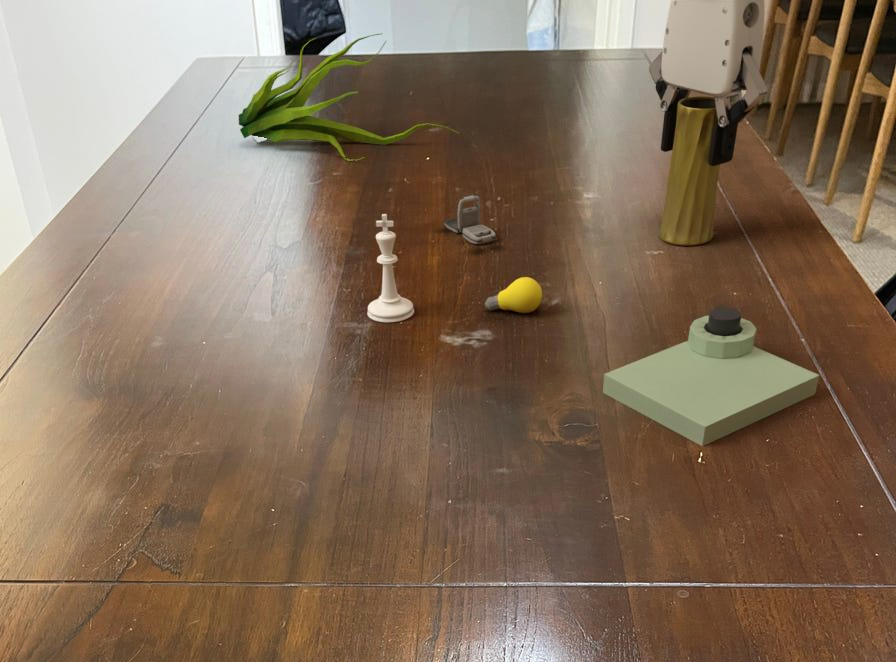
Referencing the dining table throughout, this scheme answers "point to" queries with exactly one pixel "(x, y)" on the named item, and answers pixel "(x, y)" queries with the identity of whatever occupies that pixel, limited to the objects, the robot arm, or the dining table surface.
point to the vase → (691, 176)
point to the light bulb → (517, 296)
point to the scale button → (724, 321)
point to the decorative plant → (305, 110)
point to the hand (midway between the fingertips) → (695, 154)
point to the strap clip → (470, 223)
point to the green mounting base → (710, 383)
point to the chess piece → (388, 281)
